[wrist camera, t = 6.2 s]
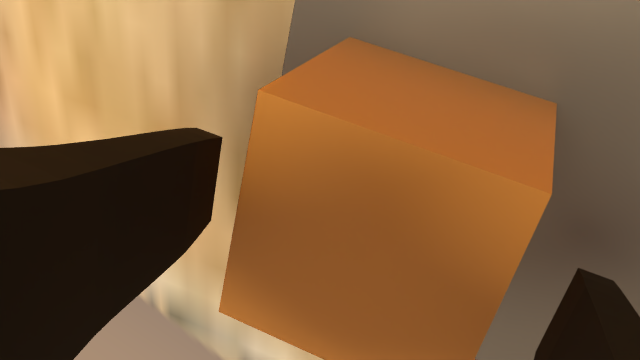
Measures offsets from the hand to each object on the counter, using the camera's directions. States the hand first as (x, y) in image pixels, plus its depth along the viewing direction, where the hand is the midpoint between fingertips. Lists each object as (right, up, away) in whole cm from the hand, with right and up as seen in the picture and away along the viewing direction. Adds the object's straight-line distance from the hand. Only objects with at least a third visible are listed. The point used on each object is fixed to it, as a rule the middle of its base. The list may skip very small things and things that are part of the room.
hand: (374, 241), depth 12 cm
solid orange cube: (+1, +2, +3) cm, 4 cm away
